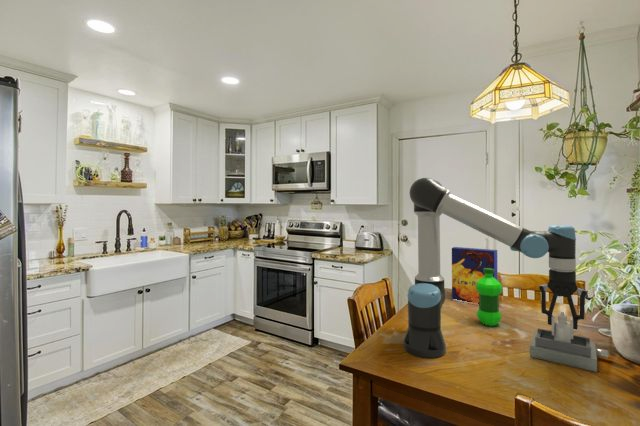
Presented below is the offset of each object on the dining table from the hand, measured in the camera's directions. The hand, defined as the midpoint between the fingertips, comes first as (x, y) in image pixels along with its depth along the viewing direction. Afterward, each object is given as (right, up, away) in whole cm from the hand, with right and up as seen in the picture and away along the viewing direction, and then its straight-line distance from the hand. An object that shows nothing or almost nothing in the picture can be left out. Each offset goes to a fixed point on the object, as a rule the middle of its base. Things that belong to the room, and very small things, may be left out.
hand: (562, 335), depth 113 cm
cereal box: (0, -7, +64) cm, 64 cm away
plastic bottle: (-9, -7, +33) cm, 34 cm away
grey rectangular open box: (+3, -8, +1) cm, 8 cm away
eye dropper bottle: (0, -4, 0) cm, 4 cm away
